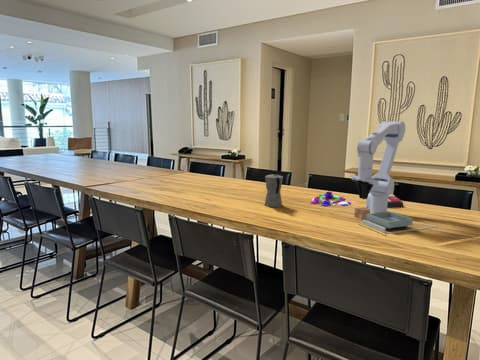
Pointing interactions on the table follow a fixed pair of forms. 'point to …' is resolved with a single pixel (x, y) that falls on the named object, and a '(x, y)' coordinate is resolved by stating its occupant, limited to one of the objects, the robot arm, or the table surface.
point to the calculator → (394, 201)
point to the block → (361, 212)
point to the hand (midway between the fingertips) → (363, 198)
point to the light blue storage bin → (389, 219)
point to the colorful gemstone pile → (329, 200)
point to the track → (383, 229)
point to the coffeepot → (273, 190)
